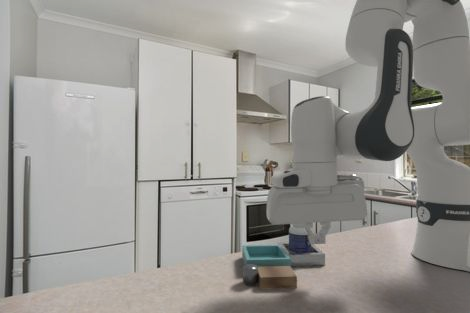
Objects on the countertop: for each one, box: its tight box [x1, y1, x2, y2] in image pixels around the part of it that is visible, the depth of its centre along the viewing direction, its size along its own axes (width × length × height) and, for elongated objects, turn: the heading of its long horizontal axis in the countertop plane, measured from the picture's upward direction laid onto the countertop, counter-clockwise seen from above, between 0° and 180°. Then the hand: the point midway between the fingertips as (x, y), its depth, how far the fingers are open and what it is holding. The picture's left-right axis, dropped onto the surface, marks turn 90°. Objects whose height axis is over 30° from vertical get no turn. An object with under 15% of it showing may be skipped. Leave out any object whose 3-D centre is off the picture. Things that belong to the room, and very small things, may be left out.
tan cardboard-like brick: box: [257, 266, 298, 290], centre depth 51 cm, size 7×5×2 cm
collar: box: [277, 242, 326, 267], centre depth 64 cm, size 9×9×2 cm
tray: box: [241, 244, 292, 268], centre depth 59 cm, size 10×10×3 cm
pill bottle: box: [288, 223, 311, 253], centre depth 64 cm, size 5×5×10 cm
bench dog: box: [242, 264, 259, 287], centre depth 51 cm, size 3×3×3 cm
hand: (317, 243), depth 53 cm, fingers closed
